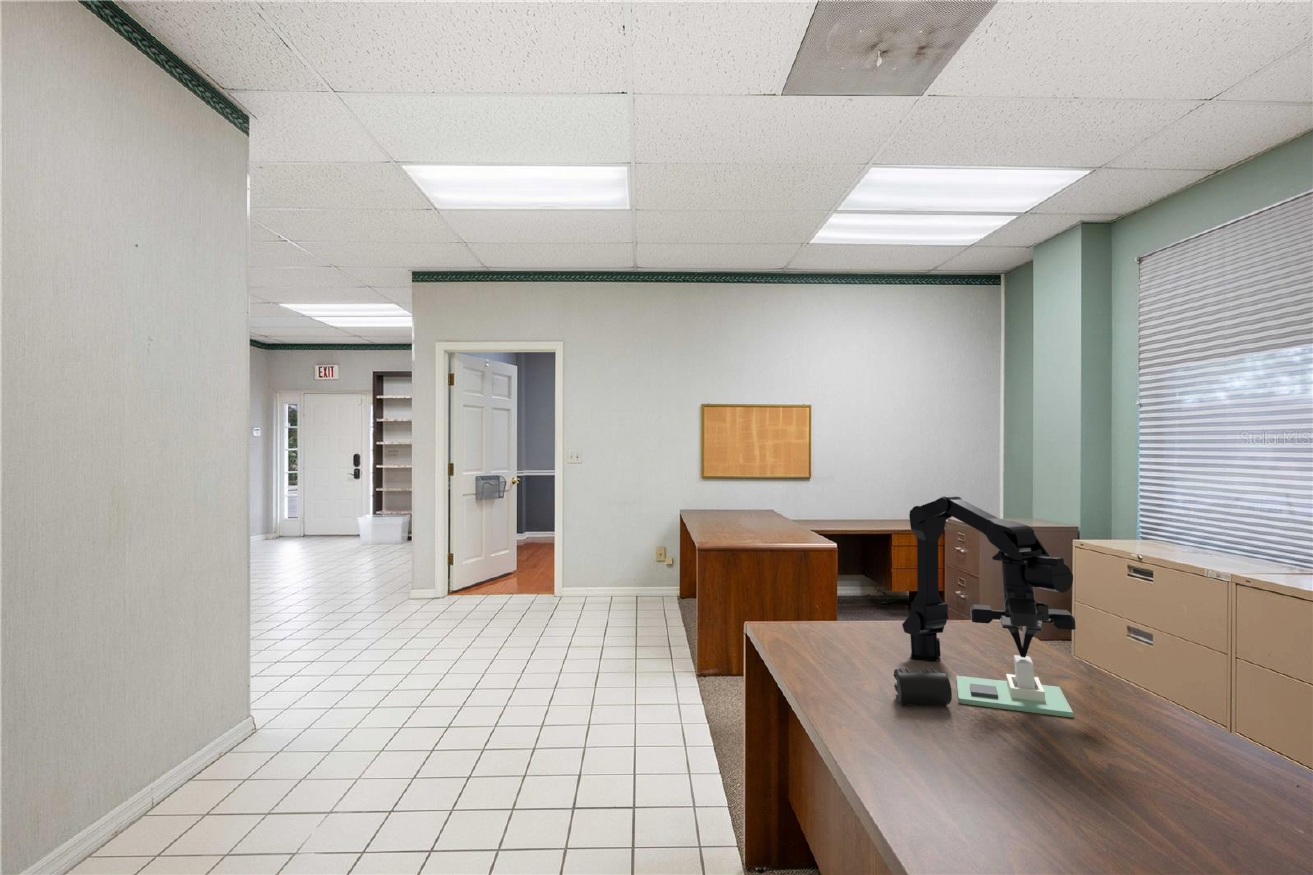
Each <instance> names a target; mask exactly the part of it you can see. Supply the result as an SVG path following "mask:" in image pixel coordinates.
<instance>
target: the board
mask: <svg viewBox="0 0 1313 875" xmlns="http://www.w3.org/2000/svg"><path fill="white" fill-rule="evenodd" d="M1005 675H1006V680H999V679H990V678H982V677H972V676H964V675H962V676H961V675H956V685H957V686H956V687H957V698H958V704H962V705H963V704H964V705H970V706H980V707H986V708H987V707H988V708H995V709H1000V710H1001V709H1003V710H1010V711H1019V712H1026V713H1034V714H1041V715H1048V716H1049V715H1050V716H1057V717H1058V716H1059V717H1063V718H1064V717H1066V718H1074V712H1073V709H1072V708H1071V706H1070V704H1069V702H1068V700H1067V699H1066V696H1065V695H1064V693H1063V691H1062V689H1061V687H1060V686H1056V685H1045V684H1042V683H1041V681H1040V678H1039V676H1034V681H1035V689H1026V688H1018V687H1016V680H1015V674H1011V673H1005Z"/></svg>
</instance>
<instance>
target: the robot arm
mask: <svg viewBox="0 0 1313 875" xmlns="http://www.w3.org/2000/svg"><path fill="white" fill-rule="evenodd" d="M908 517H909V518H908V519H909V525H910V530H911V532H913V535H914V536H915V537H916V543H917V546H916V547H917V548H916V550H917V555H916V556H917V557H916V558H917V560H916V561H917V563H916V566H917V568H916V570H917V576H916V578H917V593H916V595H915V597H914V598H913V600H912V602H911V603H910V604H911V605H910V610H909V611H910V613H909V615H908V617H907V618H906V619H905V620H904V621H903V622H902V624H901V626H902V629H903V632H904V633H905V634H908V635H909V636H910V649H911V650H910V651H911V652H910V658H911V659H913V660H914V659H915V660H923V661H931V662H932V661H933V662H939V660H940V657H941V643H940V642H941V640H940V637H938V634H942V633H943V632H944V631H945V630H944V629H945V626H946V624H947V621H948V620H949V612H948V610H949V605H948V603H946V602H945V603H944V601H943V600H942V598H941V597H940V594H939V591H940V590H939V588H940V586H939V578H940V576H939V539H940V538H941V537H942V535H943V533H944V531H945V528H946V522H947V520H949V519H952V518H954V519H956V520H958V521H960V522H961V523H963V524H966V525H967V526H969V527H971V528H973V529H974V530H976V531H978V532H979V533H982V534H983V535H984V536H985V537H986V538H987V540H988V542H989V543H990V545H992V546H994V547H995V548H996V549H997V550H998V552H997V553H995V554H994V555H993V556H992V557H991V559H992V560H993V561H998V562H1001V574H1002V575H1001V577H1002V593H1003V606H1004V608H1003V609H1004V610H999V609H992V608H991V605H989V604H975V603H974V604H972V605H970V608H969V609H970V618H971V622H972V623H975V624H978V623H979V624H990V623H991V622H992V621H993V620H999V623H1000V625H1001V627H1002V628H1003V629H1006V630H1008V632H1010V635H1011V636H1012V638H1013V641H1014V644H1015V646H1016V648H1017V651H1018V653H1019V656H1021V657H1024V658H1025V657H1026V656H1027V653H1028V651H1029V648H1030V645H1031V641H1032V640H1033V637H1034V635H1036V634H1037V632H1043V627H1042V624H1043V623H1049V624H1050V623H1051V624H1052V625H1053V626H1054V627H1055V628H1057V629H1058V630H1072V631H1073V630H1076V629H1077V628H1076V627H1077V626H1076V620H1075V616H1073V614H1072V613H1071V612H1070V611H1068V610H1067V609H1057V608H1049V605H1048V603H1047V602H1038V601H1036V599H1035V588H1036V589H1040V590H1041V589H1042V590H1045V591H1046V590H1047V591H1051V592H1056V593H1062V594H1063V593H1064V594H1065V593H1066V592H1068V591H1069V590H1070V589H1071V588H1072V586H1073V584H1074V583H1073V582H1074V574H1073V573H1072V571H1071V569H1070V567H1069V566H1068V565H1067V564H1065V560H1064V558H1063V557H1059V556H1058V557H1057V556H1056V557H1051V556H1050V554H1049V553H1048V551H1047V550H1046V549H1045V547H1044V546H1043V544H1042V543H1041V541H1040V540H1039V539H1038V538H1037V536H1036V534H1035V530H1034V529H1033V528H1032V527H1031V526H1029V525H1028V524H1025V523H1021V522H1017V521H1015V520H1014V521H1013V520H1007V519H1003V518H999V517H997V516H995V515H993V514H992V513H989V512H987V511H985V510H983V509H981V508H979V507H977V506H975V505H974V504H972V503H970V502H968V501H965V500H963V498H961V497H960V496H959V495H958V496H957V495H948V496H947V495H946V496H941V497H939V498H938V499H936V500H933V501H931V502H928V503H925V504H923V505H915V506H913V507H912V509H910V511H909V516H908ZM1019 627H1022V638H1021V635H1020V629H1019Z"/></svg>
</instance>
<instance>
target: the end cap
mask: <svg viewBox="0 0 1313 875" xmlns="http://www.w3.org/2000/svg"><path fill="white" fill-rule="evenodd" d="M921 671H922V672H912V671H910V669H908V668H896V669H894V670H893V677H894V679H895V680H896V683H894V685H893V687H894V691H896V694H895V697H896V700H897V701H898V703H899V704H900V705H901V706H921V707H922V706H927V707H931V706H932V707H947V706H948V705H949V704H950V703H951V702H952V699H953V694H952V692H953V691H952V686H951V681H950V678H949V677H948V675H947V673H946V672H939V671H938V670H936V669H934V668H931V669H927V668H924V669H923V668H922V670H921Z"/></svg>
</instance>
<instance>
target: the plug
mask: <svg viewBox="0 0 1313 875" xmlns="http://www.w3.org/2000/svg"><path fill="white" fill-rule="evenodd" d="M1013 663H1014V675H1015V680H1016V687H1018V688H1026V689H1035V681H1034V677H1035V670H1034V662H1033V660H1032V658H1031V656H1028V655H1026V657H1025V658H1024V657H1021V656H1020V655H1018V654H1013Z"/></svg>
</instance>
